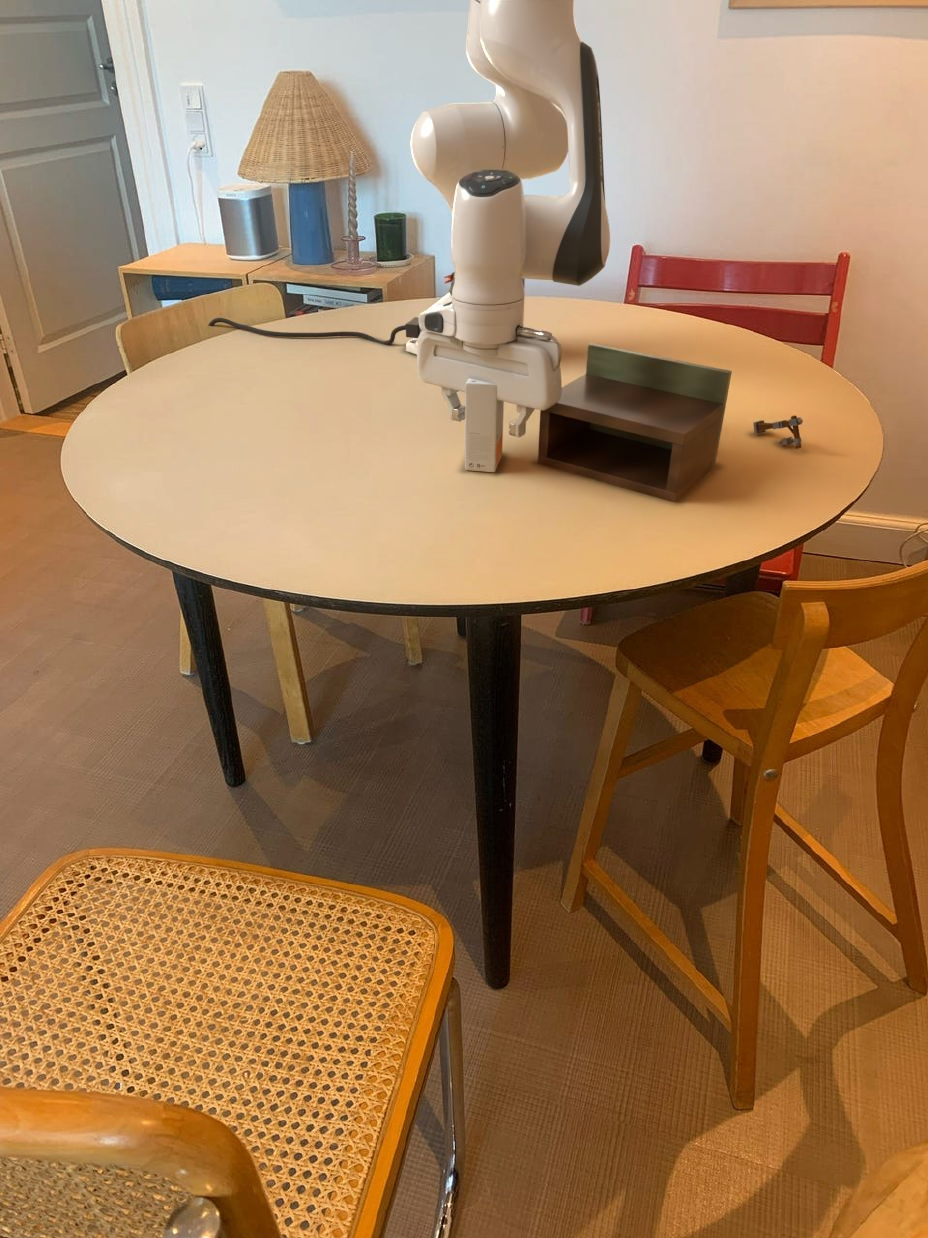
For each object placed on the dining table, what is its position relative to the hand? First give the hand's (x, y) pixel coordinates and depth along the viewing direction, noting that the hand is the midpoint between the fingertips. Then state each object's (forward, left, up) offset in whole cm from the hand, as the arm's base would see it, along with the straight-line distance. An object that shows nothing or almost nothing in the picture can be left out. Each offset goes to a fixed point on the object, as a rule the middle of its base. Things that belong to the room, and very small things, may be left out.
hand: (486, 427), depth 114 cm
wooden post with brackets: (+30, +30, -5) cm, 43 cm away
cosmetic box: (0, 0, -5) cm, 5 cm away
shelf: (+16, +10, -5) cm, 19 cm away
